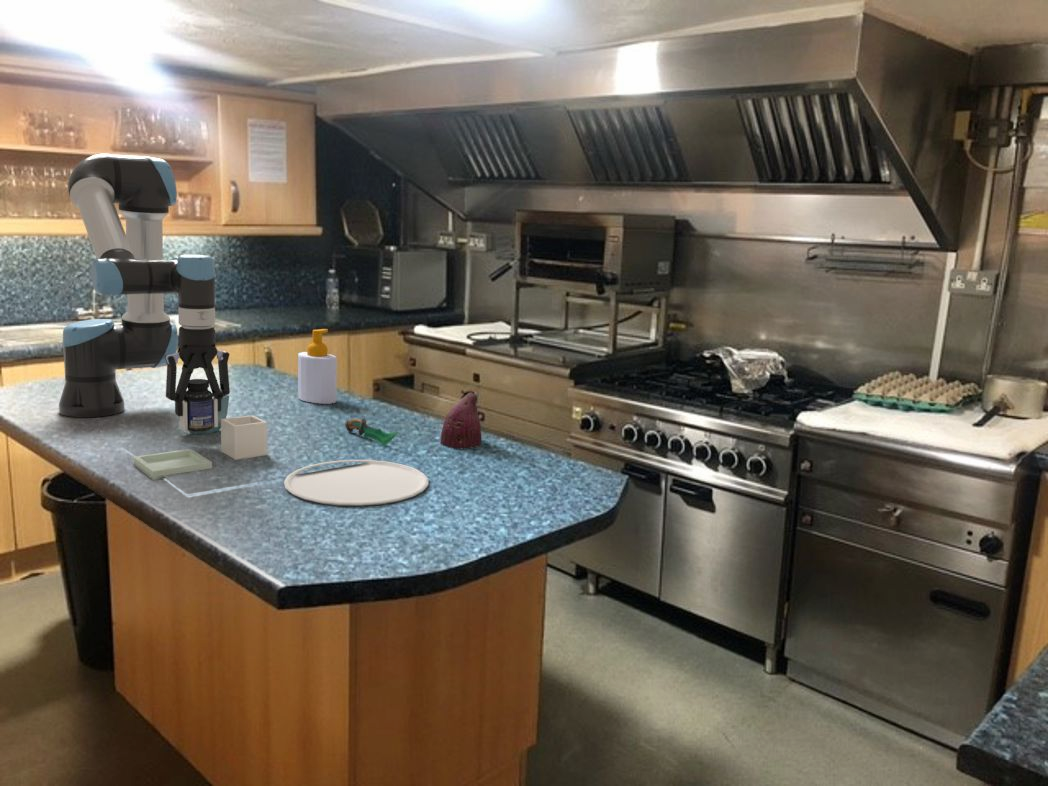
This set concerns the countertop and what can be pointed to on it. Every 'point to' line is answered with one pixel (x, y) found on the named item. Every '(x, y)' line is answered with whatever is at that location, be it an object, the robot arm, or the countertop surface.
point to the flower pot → (221, 415)
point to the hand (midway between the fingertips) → (198, 427)
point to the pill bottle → (199, 405)
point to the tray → (171, 463)
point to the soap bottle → (317, 372)
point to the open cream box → (244, 437)
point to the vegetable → (462, 424)
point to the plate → (357, 483)
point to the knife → (369, 431)
